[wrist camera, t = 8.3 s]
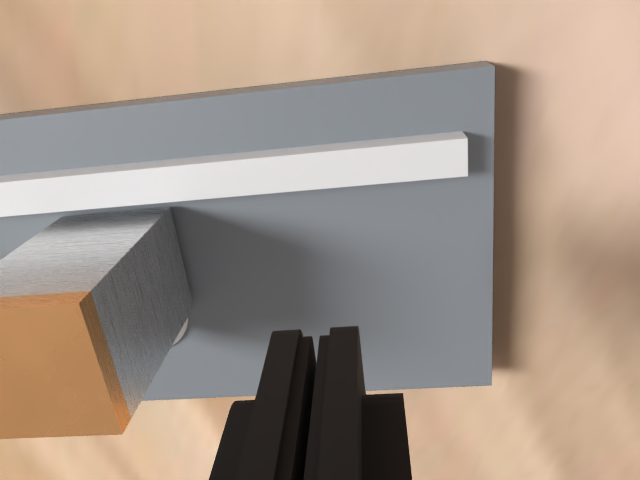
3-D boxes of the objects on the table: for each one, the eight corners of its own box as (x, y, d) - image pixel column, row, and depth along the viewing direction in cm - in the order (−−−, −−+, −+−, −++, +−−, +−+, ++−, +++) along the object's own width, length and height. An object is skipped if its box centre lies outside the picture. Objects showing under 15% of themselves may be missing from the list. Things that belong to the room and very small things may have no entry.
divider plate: (-300, 147, 21) (-614, 216, 14) (485, 60, 18) (559, 97, 11) (-160, 393, 26) (-347, 533, 19) (483, 362, 23) (535, 519, 16)
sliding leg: (61, 216, 19) (-76, 313, 13) (170, 207, 19) (78, 303, 13) (99, 330, 21) (-7, 461, 15) (198, 324, 21) (129, 457, 15)
